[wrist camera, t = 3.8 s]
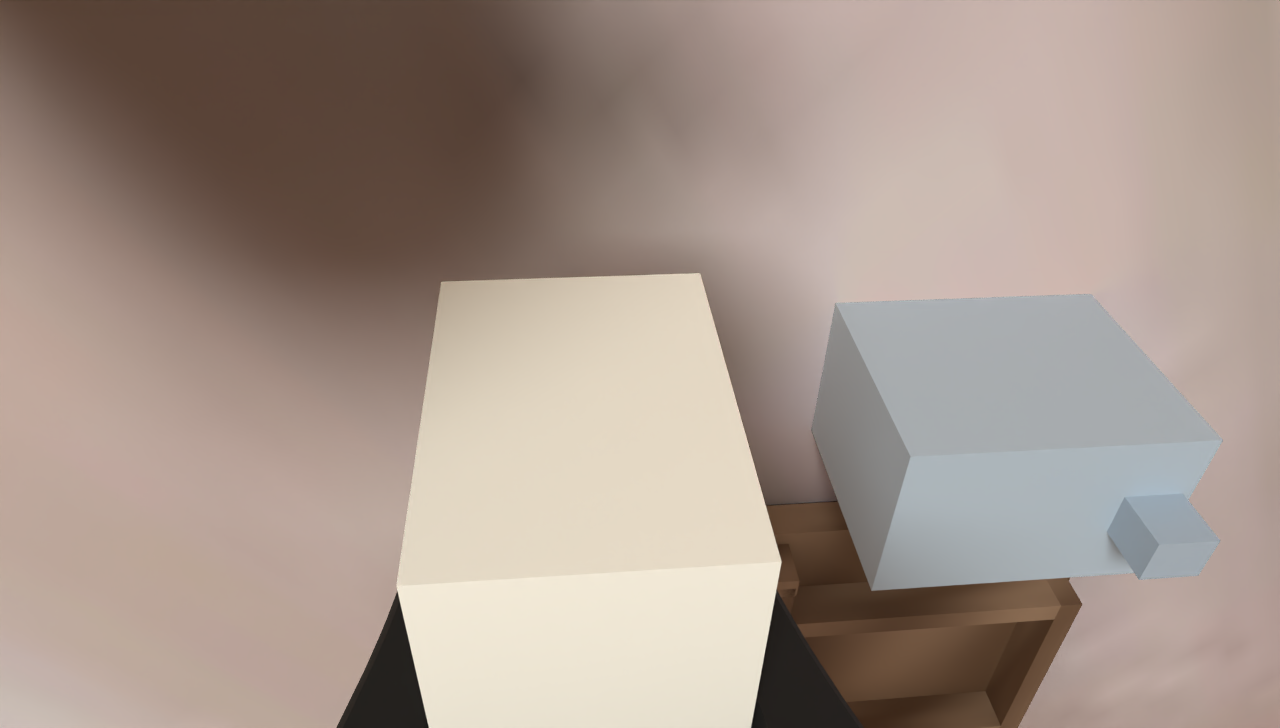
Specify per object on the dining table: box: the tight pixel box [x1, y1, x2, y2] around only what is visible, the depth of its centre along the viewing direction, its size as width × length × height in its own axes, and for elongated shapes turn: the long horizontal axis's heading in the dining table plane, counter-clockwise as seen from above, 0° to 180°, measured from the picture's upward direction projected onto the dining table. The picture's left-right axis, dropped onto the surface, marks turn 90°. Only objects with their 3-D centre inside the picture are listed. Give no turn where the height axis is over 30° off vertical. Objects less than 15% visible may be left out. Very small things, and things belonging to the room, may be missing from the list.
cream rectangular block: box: [396, 273, 782, 728], centre depth 12 cm, size 3×8×5 cm, turn 179°
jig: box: [766, 502, 1082, 728], centre depth 26 cm, size 14×11×2 cm
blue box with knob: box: [811, 294, 1223, 591], centre depth 19 cm, size 6×4×6 cm, turn 89°
